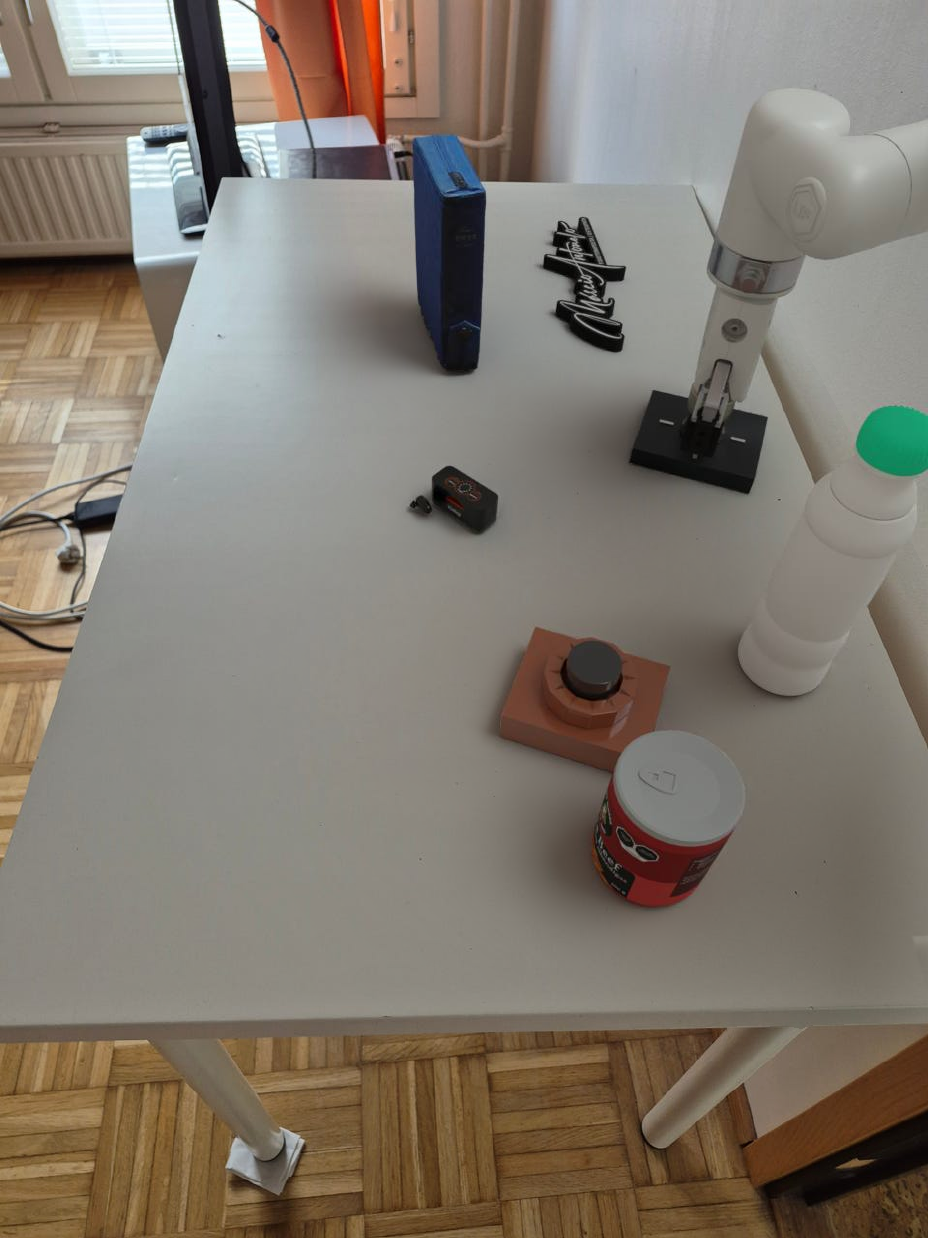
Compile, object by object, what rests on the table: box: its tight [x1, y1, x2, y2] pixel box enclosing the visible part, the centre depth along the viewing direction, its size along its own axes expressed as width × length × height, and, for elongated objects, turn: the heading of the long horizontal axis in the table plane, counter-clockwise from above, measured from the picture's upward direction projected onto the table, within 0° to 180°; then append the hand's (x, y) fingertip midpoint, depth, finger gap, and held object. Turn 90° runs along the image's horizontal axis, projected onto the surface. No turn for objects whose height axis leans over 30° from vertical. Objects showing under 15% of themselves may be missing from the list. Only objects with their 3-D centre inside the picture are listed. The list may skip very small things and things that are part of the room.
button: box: [564, 641, 622, 700], centre depth 65 cm, size 4×4×2 cm
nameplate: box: [542, 216, 627, 353], centre depth 108 cm, size 28×2×10 cm
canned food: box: [590, 729, 746, 908], centre depth 58 cm, size 8×8×11 cm
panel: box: [628, 389, 769, 494], centre depth 89 cm, size 12×10×2 cm
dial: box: [680, 380, 737, 444], centre depth 86 cm, size 4×4×5 cm
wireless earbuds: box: [409, 465, 499, 533], centre depth 81 cm, size 5×7×3 cm, turn 49°
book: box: [411, 133, 487, 372], centre depth 92 cm, size 14×5×20 cm, turn 14°
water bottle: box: [737, 405, 928, 697], centre depth 63 cm, size 7×7×25 cm
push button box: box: [498, 626, 671, 773], centre depth 68 cm, size 11×9×5 cm
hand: (704, 422), depth 88 cm, fingers open, 9 cm apart
